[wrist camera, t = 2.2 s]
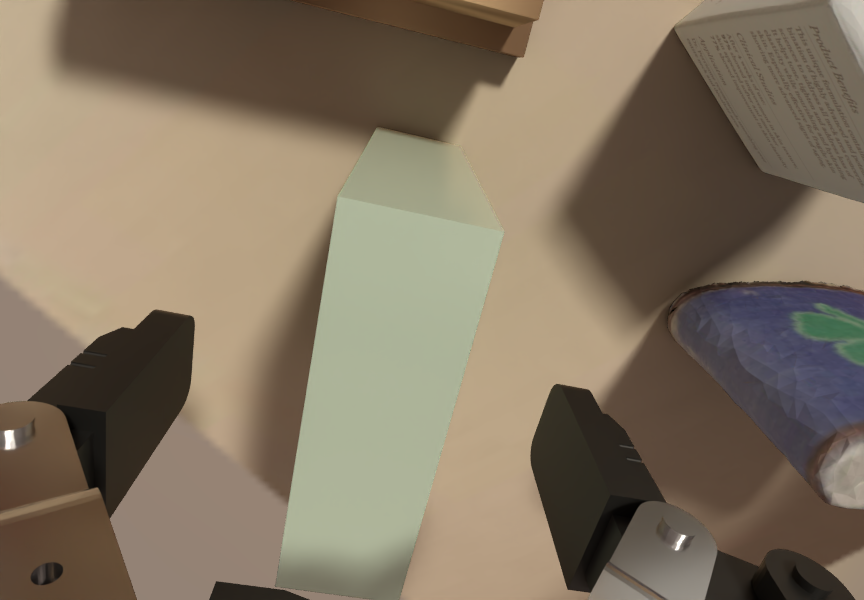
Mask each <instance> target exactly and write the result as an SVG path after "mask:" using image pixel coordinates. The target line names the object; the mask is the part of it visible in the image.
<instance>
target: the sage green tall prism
mask: <svg viewBox="0 0 864 600" xmlns="http://www.w3.org/2000/svg"><path fill="white" fill-rule="evenodd" d="M503 235H504V230H503V228H502V226H501V224H500V222H499V220H498V218H497V216H496V214H495V212H494V210H493V208H492V206H491V204H490V202H489V201H488V199H487V197H486V195H485V193H484V191H483V189H482V187H481V185H480V183H479V181H478V179H477V177H476V175H475V173H474V171H473V169H472V167H471V165H470V163H469V161H468V159H467V157H466V155H465V153H464V151H463V149H462V147H461V146H460V145H455V144H451V143H447V142H442V141H438V140H433V139H429V138H425V137H420V136H416V135H412V134H407V133H403V132H399V131H394V130H390V129H386V128H381V127H377V128H376V130H375V132H374V133H373V135H372V137H371V139H370V140H369V142H368V144H367V146H366V147H365V149H364V151H363V153H362V154H361V156H360V158H359V160H358V161H357V163H356V165H355V167H354V168H353V170H352V172H351V174H350V176H349V177H348V179H347V181H346V183H345V184H344V186H343V188H342V190H341V191H340V193H339V195H338V197H337V204H336V210H335V216H334V222H333V229H332V235H331V241H330V247H329V254H328V260H327V266H326V272H325V279H324V285H323V291H322V297H321V304H320V310H319V316H318V322H317V328H316V335H315V341H314V347H313V353H312V360H311V366H310V372H309V378H308V385H307V391H306V397H305V403H304V410H303V416H302V422H301V428H300V435H299V441H298V447H297V453H296V460H295V466H294V472H293V478H292V485H291V491H290V497H289V503H288V510H287V516H286V523H285V528H284V535H283V541H282V547H281V553H280V560H279V566H278V572H277V578H276V584H275V587H281V588H289V589H296V590H304V591H311V592H319V593H326V594H334V595H341V596H349V597H357V598H363V599H371V600H399V599H400V595H401V592H402V588H403V585H404V581H405V578H406V574H407V571H408V567H409V564H410V560H411V557H412V553H413V550H414V546H415V543H416V539H417V536H418V532H419V529H420V525H421V522H422V518H423V515H424V511H425V508H426V504H427V501H428V498H429V494H430V491H431V487H432V484H433V480H434V477H435V473H436V470H437V466H438V463H439V459H440V456H441V452H442V449H443V445H444V442H445V438H446V435H447V431H448V428H449V424H450V421H451V417H452V414H453V410H454V407H455V403H456V400H457V396H458V393H459V389H460V386H461V382H462V379H463V375H464V372H465V368H466V365H467V361H468V358H469V354H470V351H471V347H472V344H473V340H474V337H475V333H476V330H477V326H478V323H479V319H480V316H481V312H482V309H483V305H484V302H485V298H486V295H487V291H488V288H489V284H490V281H491V277H492V274H493V270H494V267H495V263H496V260H497V256H498V253H499V249H500V246H501V242H502V239H503Z"/></svg>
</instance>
